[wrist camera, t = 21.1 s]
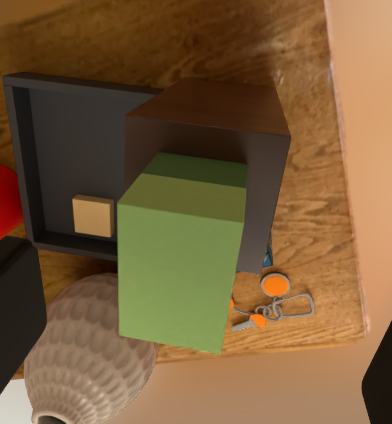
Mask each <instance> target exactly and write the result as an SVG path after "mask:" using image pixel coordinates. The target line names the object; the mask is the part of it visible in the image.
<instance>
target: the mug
mask: <svg viewBox="0 0 392 424" xmlns="http://www.w3.org/2000/svg"><path fill="white" fill-rule="evenodd" d="M23 221H24V217H23V211H22V204H21V198H20V191H19V184H18V178H17V175H16V174H15V173H14V172H13V171H12V170H10V169H9V168H7V167H5V166H3V165H1V164H0V240H1V239H2V238H3V237H4V236H6V235H7V234H8V233H9V232H11V231H12V230H13V229H14V228H16V227H17V226H18V225H19V224H21V223H22V222H23Z"/></svg>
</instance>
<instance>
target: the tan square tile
mask: <svg viewBox="0 0 392 424" xmlns="http://www.w3.org/2000/svg"><path fill="white" fill-rule="evenodd" d="M72 200H73V212H74V223H75V232H78V233H85V234H91V235H98V236H104V237H111V236H112V235H113V233H114V200H113V199H106V198H99V197H92V196H85V195H76V196H75V197H74V198H73V199H72Z"/></svg>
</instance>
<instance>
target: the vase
mask: <svg viewBox="0 0 392 424" xmlns="http://www.w3.org/2000/svg"><path fill="white" fill-rule="evenodd" d="M46 312H47V325H46V328H45V330H44V332H43V334H42V335H41V336H40V338H39V339H38V341H37V342H36V344H35V345H34V347H33V348H32V349H31V351H30V352H29V354H28V355H27V357H26V358H25V361H24V378H25V386H26V390H27V393H28V397H29V400H30V402H31V405H32V408H33V413H32V423H33V424H100V423H103V422H105V421H107V420H109V419H110V418H112V417H114V416H115V415H117V414H118V413H119V412H120V411H122V410H123V409H124V408H125V407H126V406H127V405H128V404H129V403H130V402H131V401H132V400H133V399H134V398H135V397H136V396H137V395H138V393H139V392H140V391H141V390H142V388H143V387H144V385H145V384H146V382H147V381H148V379H149V376H150V374H151V372H152V370H153V368H154V365H155V362H156V359H157V356H158V351H159V346H160V343H157V342H151V341H146V340H141V339H136V338H130V337H125V336H120V335H119V313H118V273H100V274H95V275H90V276H88V277H85V278H82V279H80V280H77V281H75V282H73V283H72V284H70V285H69V286H67V287H66V288H64V289H63V290H61V291H60V292H59V293H58V294H57V295H56V296H55V297H54V298H53V299H52V300H51V301H50V302H49V304H48V305H47V306H46Z"/></svg>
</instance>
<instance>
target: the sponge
mask: <svg viewBox="0 0 392 424" xmlns="http://www.w3.org/2000/svg"><path fill="white" fill-rule="evenodd" d="M247 175H248V165H247V164H242V163H235V162H228V161H221V160H213V159H206V158H199V157H192V156H185V155H177V154H170V153H163V152H158V153H157V155H156V156H155V157H154V158H153V160H152V161H151V162H150V163H149V164H148V166H147V167H146V168H145V169H144V170H143V172H142V173H141V174H140V175H139V177H138V178H137V179H136V180H135V181H134V183H133V184H132V185H131V186H130V188H129V189H128V190H127V191H126V192H125V194H124V195H123V196H122V197H121V199H120V200H119V201H118V202H117V237H118V313H119V335H120V336H125V337H130V338H136V339H141V340H146V341H151V342H157V343H162V344H167V345H172V346H178V347H183V348H188V349H193V350H199V351H204V352H209V353H214V354H220V353H221V351H222V345H223V340H224V334H225V328H226V323H227V317H228V311H229V306H230V300H231V295H232V289H233V283H234V278H235V272H236V266H237V261H238V255H239V249H240V244H241V238H242V232H243V227H244V218H245V204H246V189H247Z"/></svg>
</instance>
